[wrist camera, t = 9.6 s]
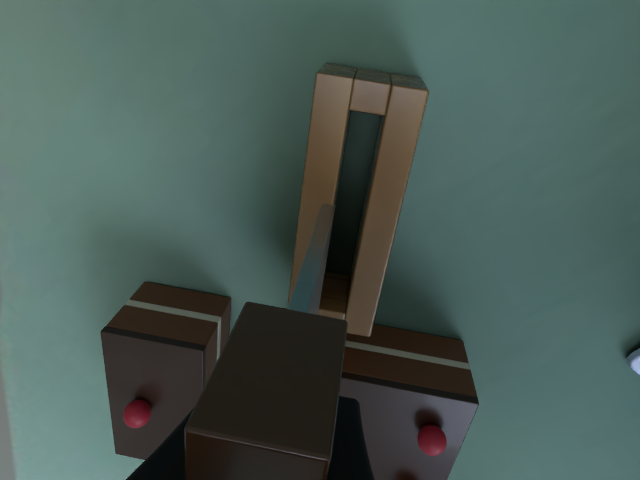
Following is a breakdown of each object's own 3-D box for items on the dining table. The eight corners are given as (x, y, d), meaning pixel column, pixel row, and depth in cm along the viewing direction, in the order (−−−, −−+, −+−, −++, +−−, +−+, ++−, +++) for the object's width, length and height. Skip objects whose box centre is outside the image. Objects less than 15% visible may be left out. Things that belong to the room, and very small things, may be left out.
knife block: (422, 77, 17) (429, 90, 14) (371, 297, 21) (370, 337, 19) (326, 62, 17) (316, 71, 14) (297, 283, 21) (285, 322, 19)
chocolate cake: (463, 339, 22) (485, 426, 17) (423, 448, 25) (433, 542, 21) (341, 317, 22) (331, 396, 17) (320, 427, 26) (307, 516, 21)
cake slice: (231, 297, 22) (193, 369, 18) (226, 409, 26) (193, 492, 21) (144, 280, 22) (84, 348, 18) (151, 394, 26) (103, 474, 22)
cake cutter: (362, 206, 13) (331, 460, 6) (328, 382, 17) (281, 686, 9) (296, 195, 13) (182, 428, 6) (276, 371, 17) (187, 664, 9)
